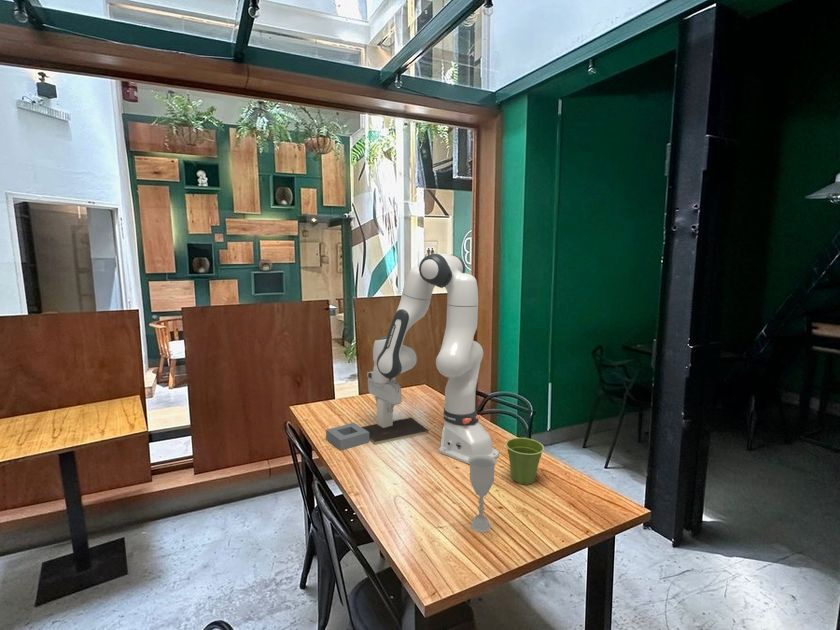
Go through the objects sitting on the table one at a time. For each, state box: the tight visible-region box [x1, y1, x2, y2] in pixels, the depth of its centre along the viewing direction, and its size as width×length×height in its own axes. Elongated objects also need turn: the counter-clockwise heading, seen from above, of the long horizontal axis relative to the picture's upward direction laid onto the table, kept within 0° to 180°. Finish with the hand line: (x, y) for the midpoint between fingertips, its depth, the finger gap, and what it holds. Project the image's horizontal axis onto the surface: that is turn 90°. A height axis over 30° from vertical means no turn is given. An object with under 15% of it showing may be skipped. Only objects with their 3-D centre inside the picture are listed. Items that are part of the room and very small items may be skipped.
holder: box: [325, 422, 370, 451], centre depth 164 cm, size 12×12×4 cm
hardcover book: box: [361, 417, 429, 445], centre depth 173 cm, size 16×23×2 cm
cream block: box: [376, 398, 394, 428], centre depth 175 cm, size 4×4×11 cm
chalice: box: [468, 455, 498, 533], centre depth 111 cm, size 7×7×18 cm
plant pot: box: [505, 437, 545, 485], centre depth 135 cm, size 12×12×11 cm
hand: (384, 409), depth 175 cm, fingers open, 7 cm apart
